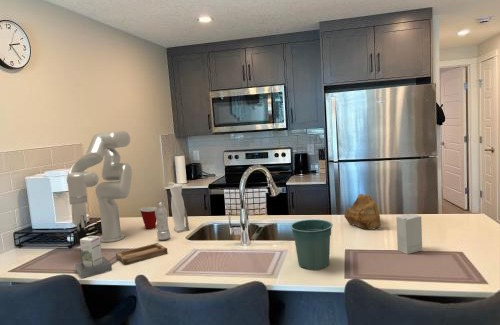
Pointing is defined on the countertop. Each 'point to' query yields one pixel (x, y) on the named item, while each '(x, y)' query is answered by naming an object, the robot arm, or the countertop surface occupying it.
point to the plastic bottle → (162, 221)
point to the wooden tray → (141, 253)
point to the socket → (93, 268)
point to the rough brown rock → (363, 213)
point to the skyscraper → (178, 208)
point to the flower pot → (312, 243)
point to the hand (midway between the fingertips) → (82, 238)
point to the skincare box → (409, 233)
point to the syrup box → (91, 251)
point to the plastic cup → (149, 217)
